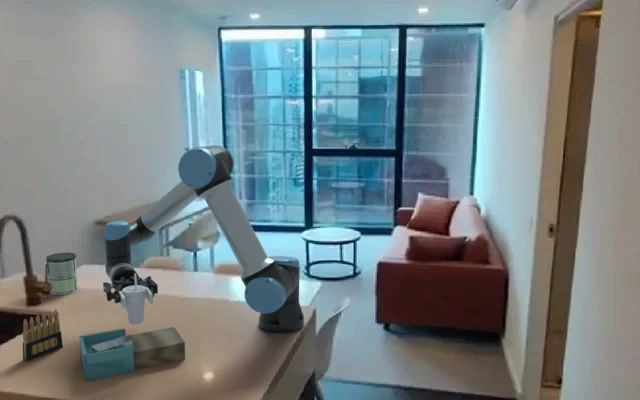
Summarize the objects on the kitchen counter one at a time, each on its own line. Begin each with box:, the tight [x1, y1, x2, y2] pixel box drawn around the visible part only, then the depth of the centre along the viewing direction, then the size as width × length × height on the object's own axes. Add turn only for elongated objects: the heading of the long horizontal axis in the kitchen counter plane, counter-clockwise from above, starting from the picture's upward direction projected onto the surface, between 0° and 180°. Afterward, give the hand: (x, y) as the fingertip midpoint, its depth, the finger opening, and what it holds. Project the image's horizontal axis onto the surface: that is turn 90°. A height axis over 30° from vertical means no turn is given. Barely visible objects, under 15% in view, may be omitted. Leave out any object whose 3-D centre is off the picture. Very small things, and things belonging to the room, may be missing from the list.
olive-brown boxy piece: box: [126, 326, 186, 371], centre depth 145 cm, size 14×12×5 cm
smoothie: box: [122, 272, 147, 325], centre depth 140 cm, size 6×6×14 cm
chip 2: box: [109, 335, 133, 349], centre depth 138 cm, size 4×4×2 cm
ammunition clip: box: [22, 308, 64, 362], centre depth 144 cm, size 11×2×12 cm, turn 149°
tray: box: [78, 328, 135, 383], centre depth 138 cm, size 12×14×7 cm
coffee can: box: [45, 252, 79, 296], centre depth 196 cm, size 10×10×14 cm
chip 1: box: [91, 341, 116, 353], centre depth 135 cm, size 4×4×2 cm
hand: (138, 300), depth 135 cm, fingers closed on smoothie, 6 cm apart
